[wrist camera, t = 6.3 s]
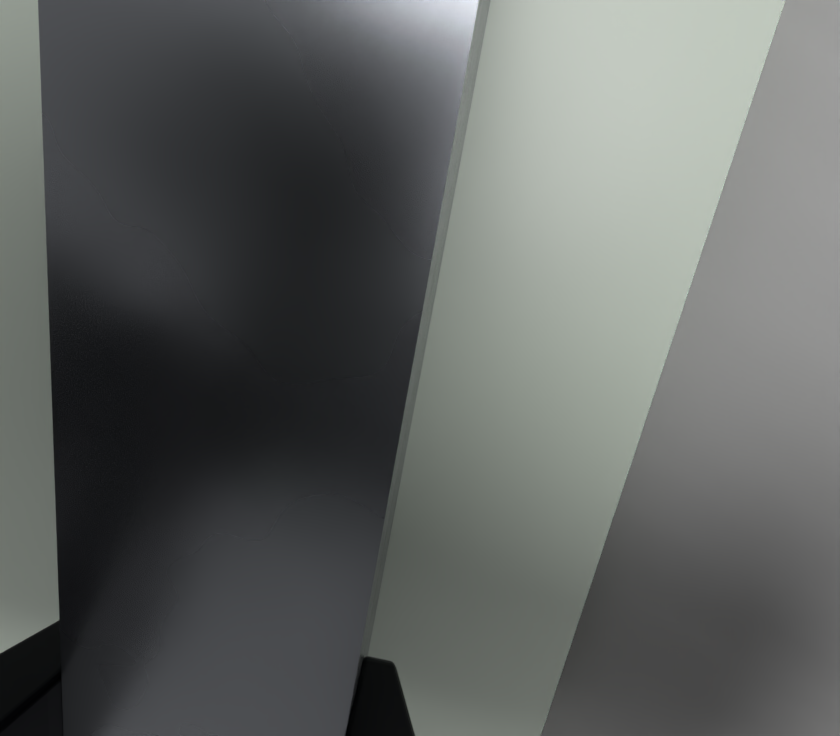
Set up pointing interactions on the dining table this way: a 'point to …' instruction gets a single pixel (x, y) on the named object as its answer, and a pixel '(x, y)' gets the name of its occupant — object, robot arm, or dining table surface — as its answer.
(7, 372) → the pad
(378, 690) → the robot arm
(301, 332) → the rail
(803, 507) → the dining table surface
